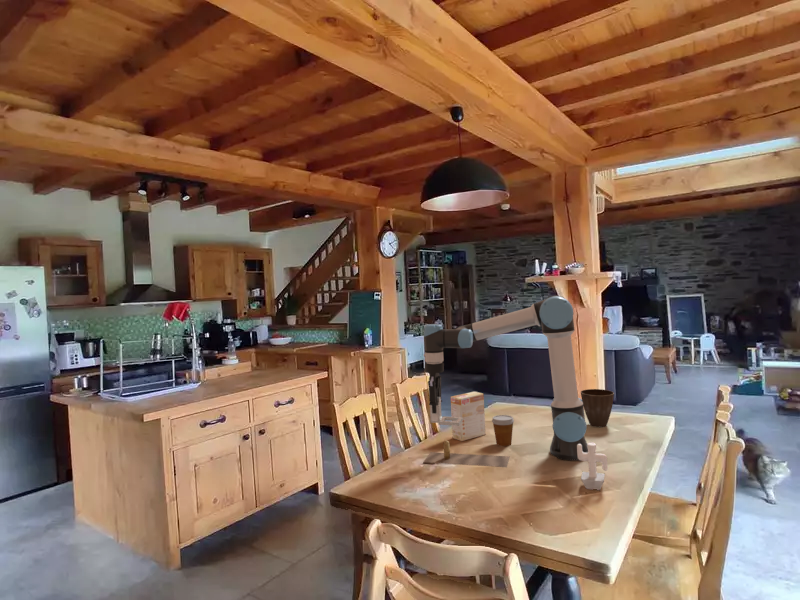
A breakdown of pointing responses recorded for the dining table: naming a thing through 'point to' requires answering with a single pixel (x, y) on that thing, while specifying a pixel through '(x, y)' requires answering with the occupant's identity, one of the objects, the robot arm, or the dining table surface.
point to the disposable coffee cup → (503, 429)
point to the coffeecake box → (468, 415)
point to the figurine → (592, 466)
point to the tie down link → (443, 419)
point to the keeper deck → (465, 458)
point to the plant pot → (597, 406)
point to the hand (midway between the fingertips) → (436, 419)
